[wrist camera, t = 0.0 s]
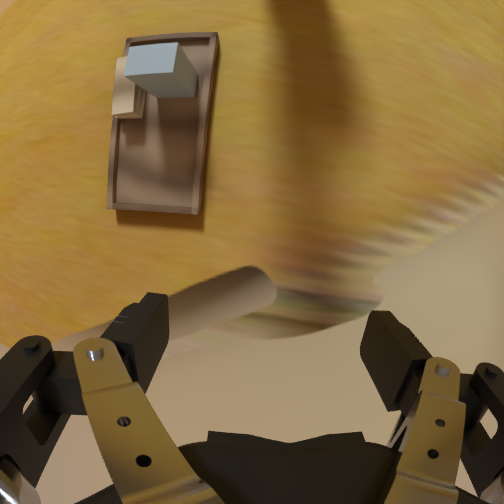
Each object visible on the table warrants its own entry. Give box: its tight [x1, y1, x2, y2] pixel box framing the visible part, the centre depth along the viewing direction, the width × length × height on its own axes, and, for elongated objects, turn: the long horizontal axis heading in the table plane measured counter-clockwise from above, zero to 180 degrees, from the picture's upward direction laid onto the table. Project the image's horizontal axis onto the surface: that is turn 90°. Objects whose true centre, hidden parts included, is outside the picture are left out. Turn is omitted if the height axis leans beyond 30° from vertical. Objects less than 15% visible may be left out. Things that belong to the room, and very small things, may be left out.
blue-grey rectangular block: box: [124, 42, 198, 98], centre depth 28 cm, size 3×5×11 cm, turn 85°
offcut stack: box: [112, 56, 146, 119], centre depth 31 cm, size 9×4×4 cm, turn 175°
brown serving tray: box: [107, 32, 219, 215], centre depth 34 cm, size 25×13×2 cm, turn 175°
